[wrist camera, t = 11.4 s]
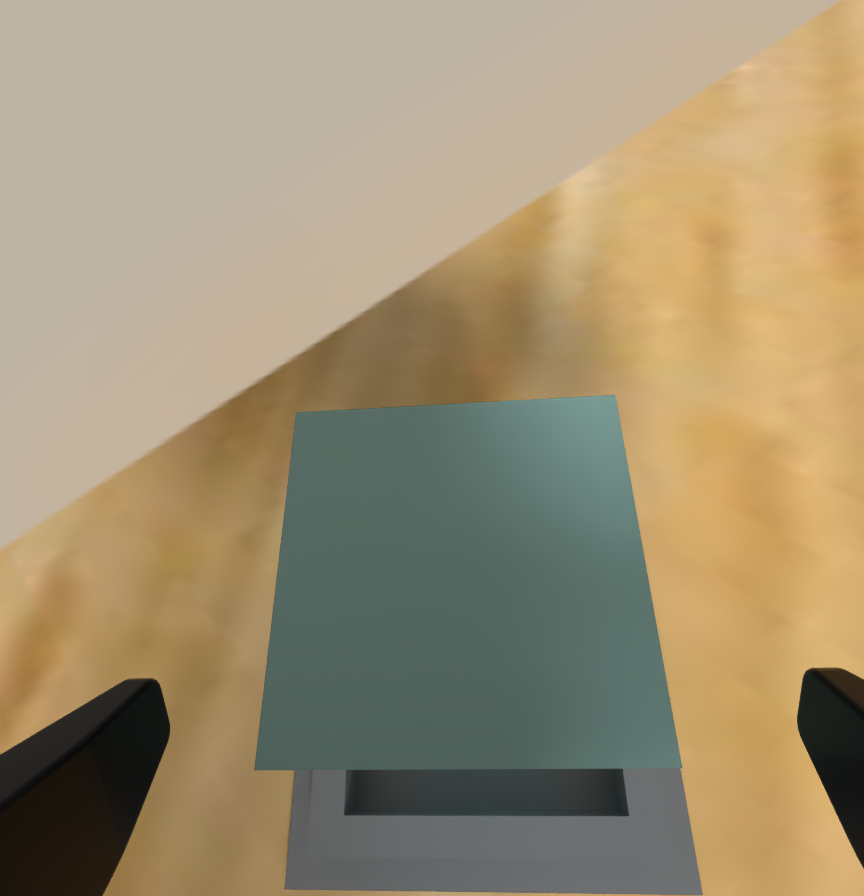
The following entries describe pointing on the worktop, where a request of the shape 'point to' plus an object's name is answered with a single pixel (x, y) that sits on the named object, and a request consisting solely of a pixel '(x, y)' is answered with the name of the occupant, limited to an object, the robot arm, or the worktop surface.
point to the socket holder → (492, 831)
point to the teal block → (463, 595)
